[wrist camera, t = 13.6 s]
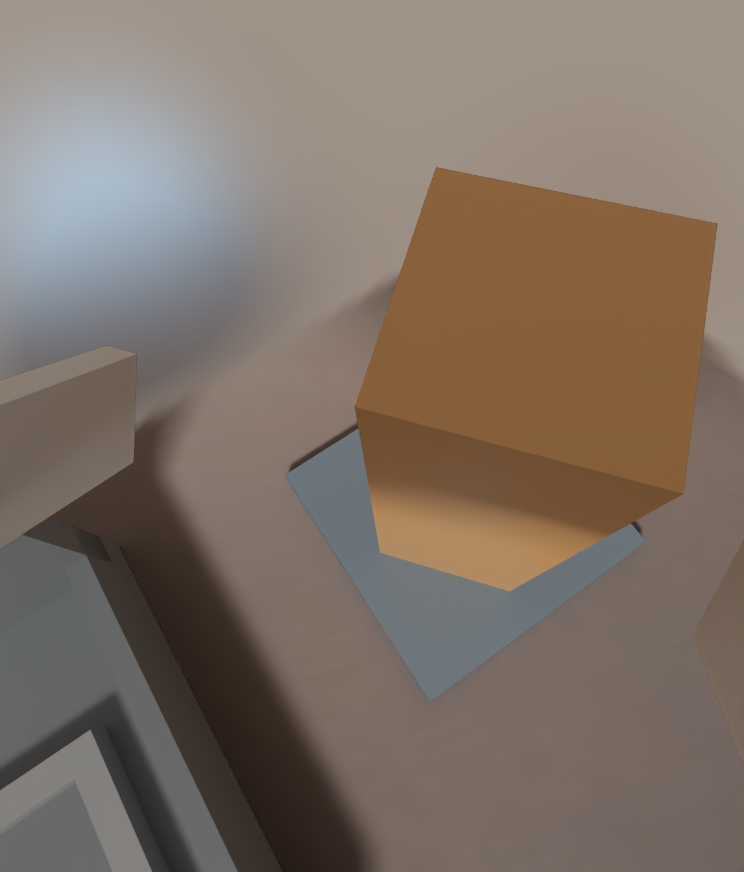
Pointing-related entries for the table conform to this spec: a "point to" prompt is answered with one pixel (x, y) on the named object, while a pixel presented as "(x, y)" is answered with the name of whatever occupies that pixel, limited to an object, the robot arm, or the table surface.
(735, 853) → the table surface
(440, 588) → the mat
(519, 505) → the module
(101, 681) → the case
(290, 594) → the table surface
